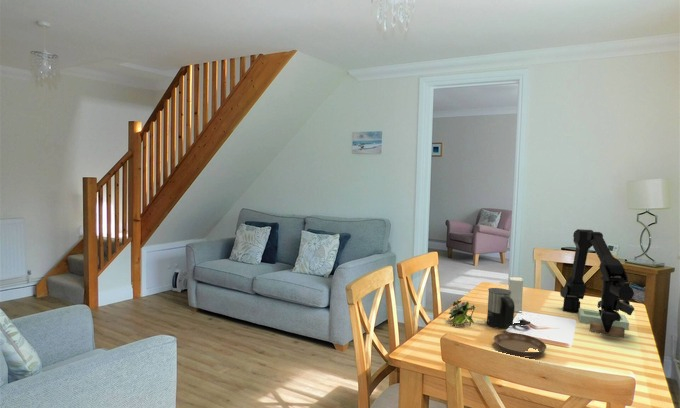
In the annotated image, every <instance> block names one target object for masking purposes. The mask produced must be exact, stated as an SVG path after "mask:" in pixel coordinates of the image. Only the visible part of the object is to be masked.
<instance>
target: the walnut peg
mask: <svg viewBox="0 0 680 408" xmlns="http://www.w3.org/2000/svg"><path fill="white" fill-rule="evenodd" d="M590 331H591V332H590ZM625 331H626V330H625V328H623V327H618V326H611V328H610V331H609V333H606V332H605V329H604V325H603V324H602V323H596V322H591V321H590V324H589V332H590V333H595V332H596V333H595V334H600V333H601V334H600V335H606V336H610V337H611V336H612V337H616V338H621V339H624V338H625Z"/></svg>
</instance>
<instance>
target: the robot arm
mask: <svg viewBox="0 0 680 408" xmlns="http://www.w3.org/2000/svg"><path fill="white" fill-rule="evenodd" d="M572 236H573V243H574V245H575V252H574V258H573V263H572V269H571V274H570V276H569V277H568V278H567V279H566V281H565V284H564V286H563V287H562V288H561V290H560V291H559V293H560V297H561V298H563V303H562V304H563V306H562V311H563V312H570V313H575V314H578V312H579V308H581V301H580V300H584V297H585V295H586V290H587V289H586V288H587V284H585V281H584V274H585V269H586V264H587V258H588V253H589V250H590V249H591V248H592V247H593V250H594V252H595V253H596V256H597V257H598V259H599V262H600V264H599V269H600V272H601V275H602V276H601V277H600V280H602V288H601V294H600V296H601V299H600V300H599V301H597V308H598V311H599V313H600V316H601V320H602V323H603V325H604V329H605V332H606V333H609V331H610V328H611V326H612V324H613V322H614V321H620V318H621V316H620V314H621V313H619V311H621V312H623V313H624V314H626V315H628V316H632V314H633V312H634V311H635V307H634V306H633V305H632V304H630V300H632V299H633V297H634V295H635V292H634V290H633V288H632V287H631V286H630V283H629V277H628V274H627V273H626V270H625V267H624V265H623V264H622V263H621V261H620V260H619V259H617V258H616V257H614V256H613V253H612V252H611V250H610V249H609V246H608V245H607V243H606V241H605V239H604V235H603V233H602V232H600V231H594V230H592V229H581V228H580V229H576V230H574V232H573V235H572Z"/></svg>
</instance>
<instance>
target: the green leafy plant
mask: <svg viewBox="0 0 680 408" xmlns="http://www.w3.org/2000/svg"><path fill="white" fill-rule="evenodd" d="M452 306H453V307H452V308H450V309H449V312H448V314H449V315H450V316H449V318H448V319H452V320H451V325H452V326H454V325H455V326H457V325H463V324H464V323H465V322H466V321H469V327H471V326H472V324H474V323H475V321H474V320H473V318H472V316H473V313H474V311H475V309H476V306H475V305H474V304H472V305H470V303H469V301H466V302H464V301H463V302H462V300H457V301H453V304H452ZM469 311H471V314H470V315H468V312H469Z"/></svg>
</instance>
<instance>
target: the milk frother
mask: <svg viewBox="0 0 680 408" xmlns="http://www.w3.org/2000/svg"><path fill="white" fill-rule="evenodd" d="M487 291H488V297H487V300H488V301H487V314H486V315H487V316H486V321H485V323H486V325H487V326H488V327H491V328H495V329H500V330H501V329H504V330H505V329H508V327H509V328H510V327H512V325H514V326H521V325H524V326H527V325H529V324H530V325H531V321H527V320H525V319H519V321H520V323H514V316H515V315H514V314H515V312H514V309H515V306H514V302H513V300H512V299H511V298H510V297H511V293H512V292H511V291H510V290H509V289H507V288H499V287H490V288H487ZM513 323H514V324H513ZM514 326H513V327H514Z"/></svg>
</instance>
